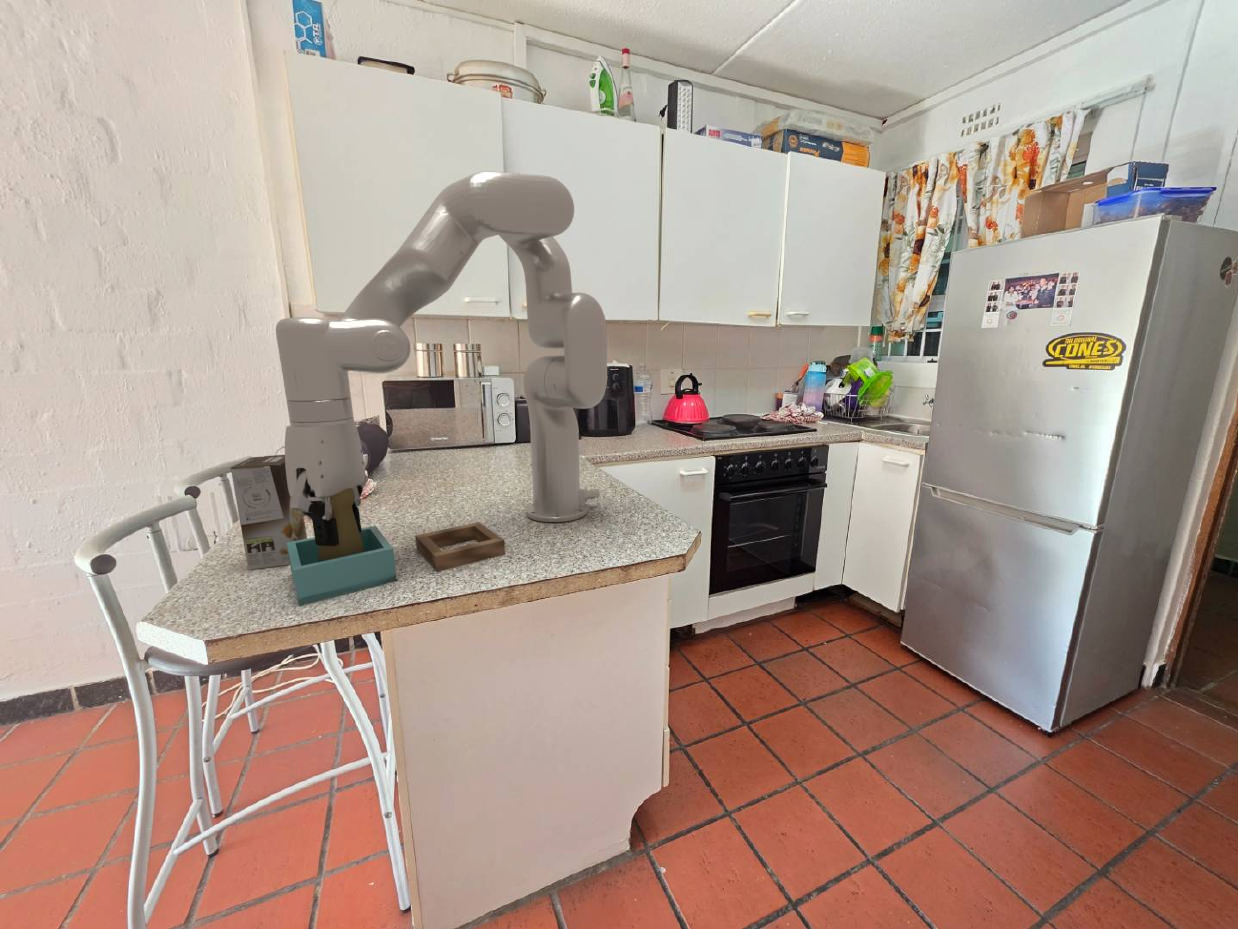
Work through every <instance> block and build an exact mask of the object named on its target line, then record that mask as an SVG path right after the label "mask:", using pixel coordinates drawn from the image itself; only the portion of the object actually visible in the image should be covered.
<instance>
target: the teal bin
mask: <svg viewBox="0 0 1238 929" xmlns="http://www.w3.org/2000/svg"><path fill="white" fill-rule="evenodd" d="M361 530H362V531H361V532H360V537H361V540H362V544H363V547H364V550H365V552H363V553H359V554H354V555H349V556H345V557H340V558H336V559H331V560H326V561H322V562H318V552H319V546H318V545H316V542H315V536H314V537H310V538H308V537H307V539H303V540H298V541H292V542H287V548H288V554H289V560H290V565H289V566H290V571H291V577H292V581H293V582H292V583H293V586H294V591H295V594H296V595H295V596H296V601H297V604H298V605H297V606H298V607H300V606H301V607H302V606H305V605H309V604H312V603H317V602H320V601H323V600H328V599H332V598H337V597H339V596H343V595H347V594H348V595H349V594H351V593H355V592H359V591H363V590H367V589H370V588H374V587H378V586H383V585H387V584H390V583H394V582H397V581H398V579H397V569H396V568H397V567H396V560H395V559H396V558H395V550H394V547H393V546H392V545H391V543H390V542H389V541H388V540H387V538H386V537H385V536H384V535H383V533H382V531H381V530H380V529H379V528H378V527H377V526H376V525H372V526H367V527H361Z"/></svg>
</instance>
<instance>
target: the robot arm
mask: <svg viewBox="0 0 1238 929" xmlns="http://www.w3.org/2000/svg"><path fill="white" fill-rule="evenodd" d="M574 217H575V203H574V199H573V196H572V194H571V193H570V190H569V189H568V188H567V186H566V185H564V184H563V182H561V181H560V180H558V179H557V178H554V177H551V176H547V175H539V174H530V173H529V174H527V173H518V172H517V173H515V172H507V171H506V172H505V171H490V170H489V171H488V170H487V171H485V170H484V171H477V172H474V173H472V174H470V175H468V176H466V177H463V178H461V179H459V180H457V181H455V182H452V183H451V184H449V185H448V186H445V187H444V189H442V190H441V192H440V193H439V194H438V195H437V196H436V198H435V199H434V200H433V202H431V204H430V206H429V207H428V208H427V210H426V211H425V213H424V214H423V216H422V217H421V218H420V219H419V221H418V223H417V224H416V226H415V227H414V228H413V230H412V231H411V232H410V233H409V235H408V236H407V238H406V239H405V240H404V242H403V243H402V245H401V246H400V247H399V248H398V250H397V251H396V252H395V253H394V254H393V255H392V256H391V257H390V258H389V259H388V260H387V261H386V262H385V264H384V265H383V266H382V268H380V270H379V271H378V272H377V273H376V274H375V275H374V276H373V278H371V279H370V281H368V283H366V285H365V286H363V288H362V289H361V290H360V291H359V293H358V294H357V295H356V296H355V297H354V299H353V300H352V302H351V303H350V304H349V306H348V307H347V309H345V311H344V313H343V314H342V315H341V316H340V318H339V320H332V319H329V318H323V317H322V318H321V317H297V316H296V317H285V318H282V319H280V320H278V321H277V323H276V326H275V335H276V342H277V347H278V348H277V349H278V356H279V362H280V368H281V373H282V374H281V375H282V380H283V387H284V393H285V399H286V406H287V412H288V418H289V425H287V426H286V427H285V435H284V455H285V466H286V477H287V485H288V490H289V494H290V496H291V497H292V499H291V502H290V507H291V508H293V509H296V510H299V511H302V512H303V514H304V515H306V516H307V520H311V521H312V529H313V536H314V537H315V542H316V545H318V546H336V545H338V544H339V540H338V531H337V524H336V519H335V518H331V517H332V503H331V497H332V496H334V495H336V494H338V493H339V492H341V491H343V490H345V489H347V488H352V489H353V491H354V495H355V499H354V503H353V505H352V509H353V513H354V516H355V520H356V523H357V527H358V530H359V533H360V532H361V531H362V530H361V528H362V525H361V524H362V523H361V518H360V510H359V509H360V508H359V507H360V506H361V504H362V500H361V496H362V493H363V491H364V488H365V486H366V485H367V483H368V480H369V477H368V476H367V474H366V466H365V459H364V452H363V446H362V442H361V437H360V434H359V431H358V428H357V424H356V421H355V418H354V412H353V411H354V410H353V403H352V402H353V401H352V396H351V395H352V394H351V386H350V379H349V378H350V377H349V372H351V371H353V372H358V373H369V374H387V373H388V374H389V373H391V372H395V371H397V370H399V369H400V368H402V367H403V366H404V365H405V364H406V363H407V362H408V359H409V358H410V355H411V343H410V339H409V337H408V335H407V333H406V332H405V330H403V329H402V326H403V324H405V322H407V321H408V319H409V318H410V317H412V316H413V315H414V314H416V313H417V312H419V311H420V310H421V309H423V308H424V307H426V306H428V305H429V304H431V303H433V302H435V301H436V300H438V299H440V297H442V296H443V295H445V293H447V292H448V291H449V290H450V289H451V288H452V286H453V285H454V283H455V281H457V279H458V277H459V276H460V274H461V272H462V271H463V270H464V268H465V266H466V265H467V263H468V262H469V260H470V259H471V258H472V256H473V255H474V253H475V252H476V250H477V249H478V247H479V245H480V244H481V243H482V242H483V241H484V240H486V239H488V238H491V237H495V236H499V238H500V239H501V240H502V241H503V242H504V243H505V244H507V245H508V246H509V247H510V249H511V250H512V251H513V252H514V253H515V254H516V256H517V257H518V259H519V261H520V263H521V266H522V268H523V274H524V280H525V281H524V282H525V293H526V313H527V314H526V317H527V318H526V319H527V328H528V334H529V338H530V339H531V341H532V342H533V344H535V345H537V346H538V347H541V348H544V349H563V351H564V355H546V356H541V357H538V358H535V359H534V360H532V361H531V362H530V363H529V364H528V365H527V367H526V369H525V371H524V373H523V377H522V379H523V380H522V384H523V392H524V396H525V400H526V405H527V406H526V407H527V410H528V417H529V418H528V419H529V428H530V432H529V433H530V453H531V454H530V456H531V478H532V479H531V480H532V482H531V483H532V500H533V501H532V503H531V504H529V505H528V506H527V507H526V508H525V515H526V516H527V517H528V518H529V519H531V520H534V521H536V522H542V523H543V522H544V523H563V522H570V521H571V522H572V521H574V520H578V519H582V518H583V517H585V515H587V514H588V511H589V510H588V507H589V506H588V505H587V504H586V502H587V501H588V500H593V499H594V500H595V499H598V498H600V496H601V492H600V490H599V489H598V488H595V489H590V490H588V489H587V488H581V487H580V486H581V484H580V480H581V479H580V451H579V449H580V448H579V446H580V445H579V444H580V443H579V438H580V436H579V434H580V432H579V430H580V429H579V422H578V419H577V415H576V413H575V411H574V409H583V410H585V409H591V408H593V407H596V406H598V404H599V403H600V402H601V401H602V399H604V396H605V393H606V391H607V390H606V389H607V385H608V384H607V383H608V342H607V341H608V340H607V339H608V337H607V334H608V333H607V322H606V316H605V314H604V311H603V308H602V306H601V304H600V302H599V301H598V300H597V299H596V298H594V296H592V295H590V294H589V293H588V294H587V293H583V292H573V287H572V286H573V285H572V284H573V283H572V276H571V274H572V272H571V267H570V263H569V260H568V257H567V255H566V253H565V251H564V249H563V248H562V247H561V245H560V244H559V242H558V241H557V239H556V238H555V237H556V236H558V235H561V234H563V233H564V232H565V231H567V230H568V229H569V227H570V226H571V224H572V223H573V219H574ZM316 501H322V508H321V507H320V506H318V505H317V504H316Z"/></svg>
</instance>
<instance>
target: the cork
mask: <svg viewBox="0 0 1238 929" xmlns="http://www.w3.org/2000/svg"><path fill="white" fill-rule="evenodd" d="M354 499H355V495H354V491H353V489H352V488H347V489H345V490H343V491H341V492H339V493H338V494H336V495H334V496H332V497H331V503H332V517H331V518H335V519H336V524H337V531H338V540H339V544H338V545H336V546H319V552H318V562H322V561H326V560H331V559H336V558H340V557H345V556H349V555H354V554H359V553H363V552H365V550H364V547H363V544H362V540H361V537H360V533H359V530H358V527H357V523H356V520H355V516H354V513H353V509H352V505H353V503H354ZM316 504H317V505H318V506H320V507H321V508H322V501H316Z"/></svg>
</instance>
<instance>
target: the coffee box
mask: <svg viewBox="0 0 1238 929" xmlns="http://www.w3.org/2000/svg"><path fill="white" fill-rule="evenodd" d="M230 473H231V478H232V482H233V490H234V495H235V500H236V501H235V502H236V506H237V510H238V512H237V514H238V518H239V525H240V528H241V536H242V540H243V547H244V552H245V558H246V563H247V569H248V570H250V571H251V570H257V569H264V568H265V569H266V568H272V567H279V566H282V567H283V566H290V560H289V554H288V548H287V542H292V541H298V540H303V539H308V536H307V528H306V523H305V516H304V515H305V514H304V513H303V512H302V511H299V510H296V509H293V508H291V507H290V502H291V499H292V497H291V496H290V494H289V490H288V485H287V477H286V466H285V454H273V455H263V456H252V457H249V458H248V459H245V460H243V461H241V462H239V463H237V464H235V465H233V466H231V467H230Z"/></svg>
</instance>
